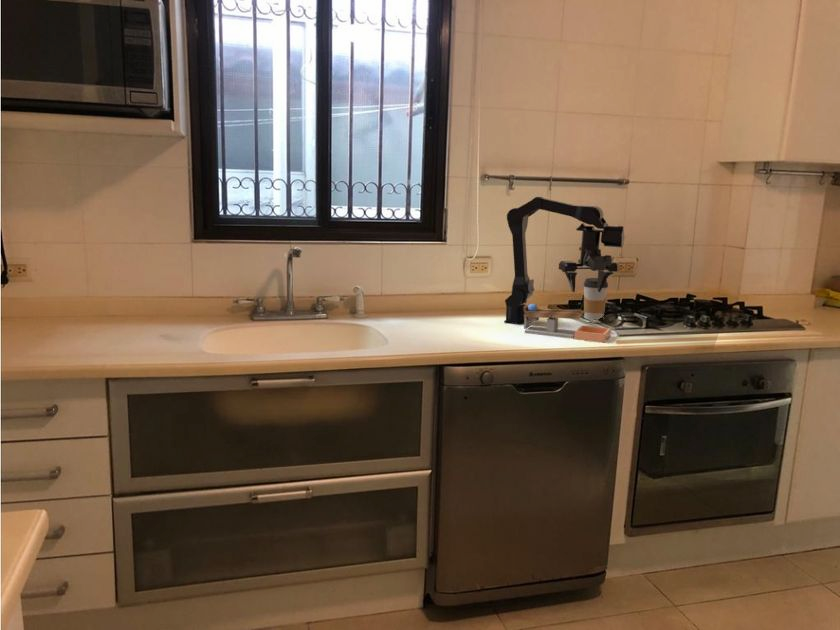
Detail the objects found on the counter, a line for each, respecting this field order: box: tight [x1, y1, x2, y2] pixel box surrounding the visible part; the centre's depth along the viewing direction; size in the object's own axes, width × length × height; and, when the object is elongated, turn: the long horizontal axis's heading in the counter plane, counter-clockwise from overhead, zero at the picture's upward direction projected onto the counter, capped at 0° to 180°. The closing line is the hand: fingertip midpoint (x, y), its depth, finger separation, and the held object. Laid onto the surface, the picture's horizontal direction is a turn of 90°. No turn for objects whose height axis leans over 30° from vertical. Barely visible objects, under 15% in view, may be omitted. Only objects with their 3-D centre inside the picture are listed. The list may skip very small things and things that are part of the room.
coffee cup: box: [583, 277, 609, 319], centre depth 230 cm, size 8×8×15 cm
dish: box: [574, 324, 612, 344], centre depth 208 cm, size 9×9×3 cm
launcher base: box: [523, 317, 577, 339], centre depth 214 cm, size 17×8×5 cm, turn 63°
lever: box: [524, 304, 584, 323], centre depth 215 cm, size 18×10×5 cm, turn 62°
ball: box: [528, 303, 538, 311], centre depth 216 cm, size 3×3×3 cm
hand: (586, 292), depth 218 cm, fingers open, 9 cm apart
